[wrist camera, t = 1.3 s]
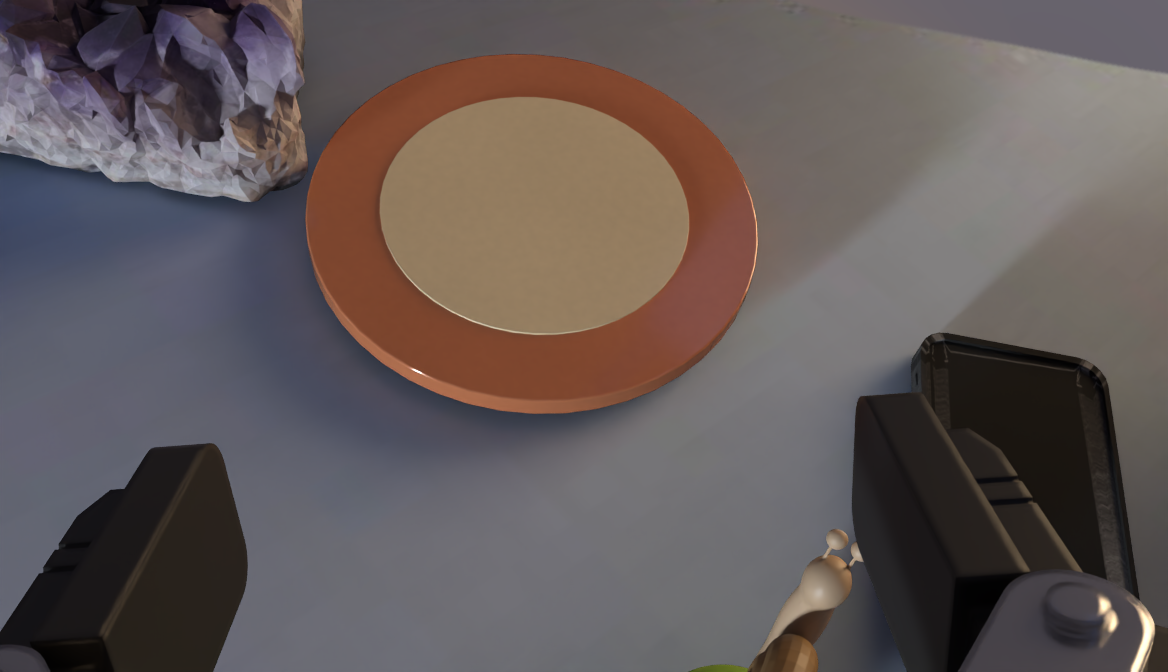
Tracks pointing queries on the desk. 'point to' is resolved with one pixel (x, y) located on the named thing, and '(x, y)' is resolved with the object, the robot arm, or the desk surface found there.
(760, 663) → the snail figurine
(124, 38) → the geode
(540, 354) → the plate
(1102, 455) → the phone
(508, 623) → the desk surface
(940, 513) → the robot arm
